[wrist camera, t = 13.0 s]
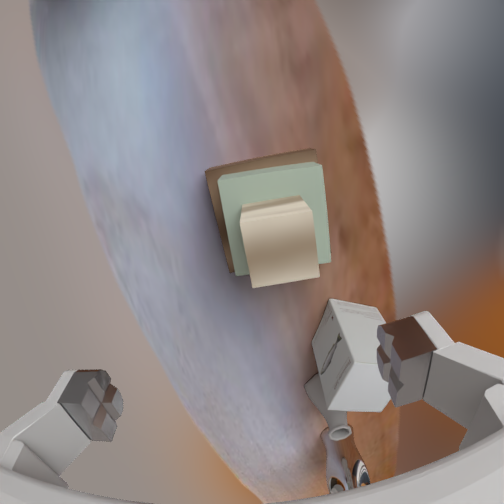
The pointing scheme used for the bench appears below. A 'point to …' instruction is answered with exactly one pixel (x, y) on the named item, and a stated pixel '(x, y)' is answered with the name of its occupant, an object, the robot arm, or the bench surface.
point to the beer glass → (343, 464)
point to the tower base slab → (248, 165)
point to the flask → (333, 417)
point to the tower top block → (267, 188)
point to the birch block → (279, 241)
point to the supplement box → (350, 357)
